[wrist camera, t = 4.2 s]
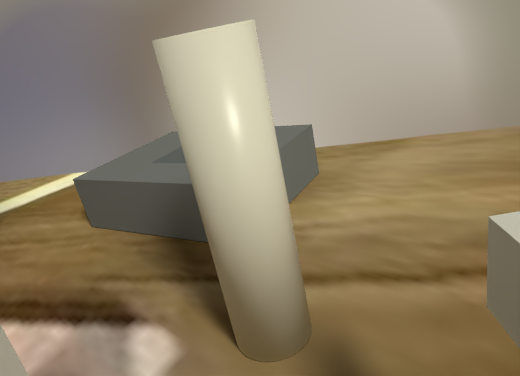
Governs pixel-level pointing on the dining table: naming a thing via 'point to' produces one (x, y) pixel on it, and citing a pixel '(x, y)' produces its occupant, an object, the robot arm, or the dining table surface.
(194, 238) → the hole block
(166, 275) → the dining table surface
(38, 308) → the dining table surface
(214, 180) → the pin
